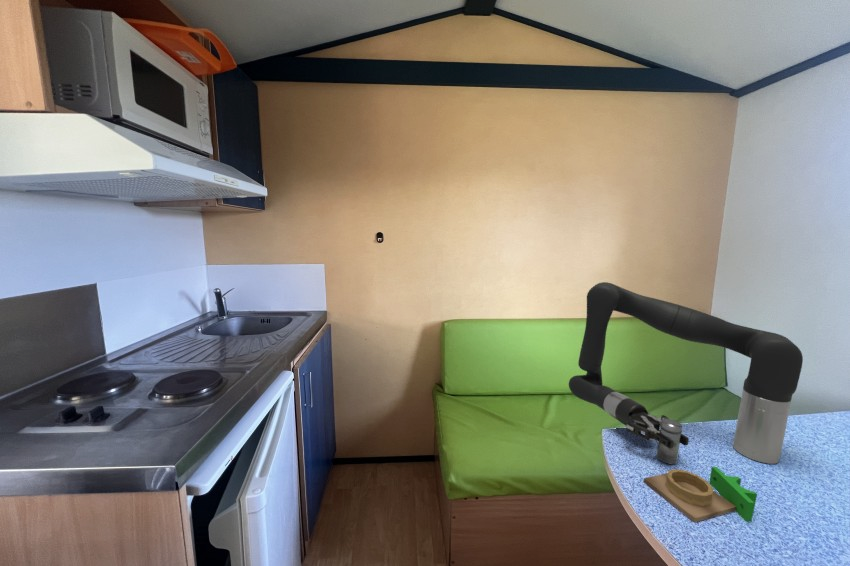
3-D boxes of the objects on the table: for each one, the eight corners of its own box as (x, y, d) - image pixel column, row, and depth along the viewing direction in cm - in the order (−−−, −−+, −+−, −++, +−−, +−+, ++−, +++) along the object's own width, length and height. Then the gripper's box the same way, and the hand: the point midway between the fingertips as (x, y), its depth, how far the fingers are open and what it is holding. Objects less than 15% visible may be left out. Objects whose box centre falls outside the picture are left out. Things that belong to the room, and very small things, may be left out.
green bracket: (765, 524, 72) (769, 504, 71) (745, 522, 73) (748, 502, 72) (726, 485, 83) (729, 467, 82) (708, 483, 84) (711, 466, 83)
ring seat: (681, 473, 86) (683, 460, 86) (735, 510, 75) (738, 496, 75) (643, 482, 83) (645, 468, 83) (694, 522, 72) (696, 507, 71)
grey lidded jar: (665, 451, 94) (670, 417, 93) (681, 462, 90) (687, 426, 88) (651, 454, 93) (656, 419, 91) (668, 465, 89) (673, 429, 87)
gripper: (606, 400, 101) (660, 434, 85) (644, 395, 105) (703, 426, 89) (603, 424, 103) (656, 461, 86) (641, 418, 107) (698, 452, 90)
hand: (679, 443), depth 88 cm, fingers closed on grey lidded jar, 4 cm apart
